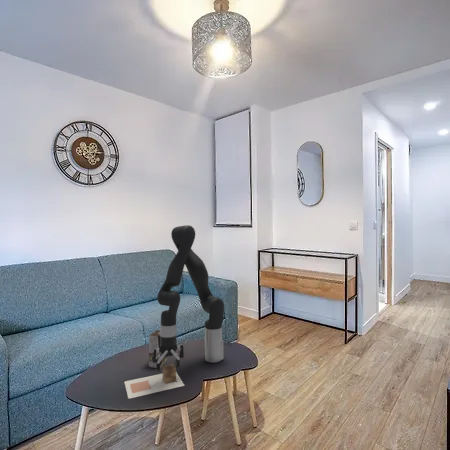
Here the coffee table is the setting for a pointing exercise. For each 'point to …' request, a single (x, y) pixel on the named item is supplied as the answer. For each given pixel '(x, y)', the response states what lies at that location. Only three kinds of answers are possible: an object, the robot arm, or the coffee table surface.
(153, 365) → the coffee box
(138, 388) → the mat
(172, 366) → the walnut block
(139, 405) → the coffee table surface
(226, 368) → the coffee table surface
